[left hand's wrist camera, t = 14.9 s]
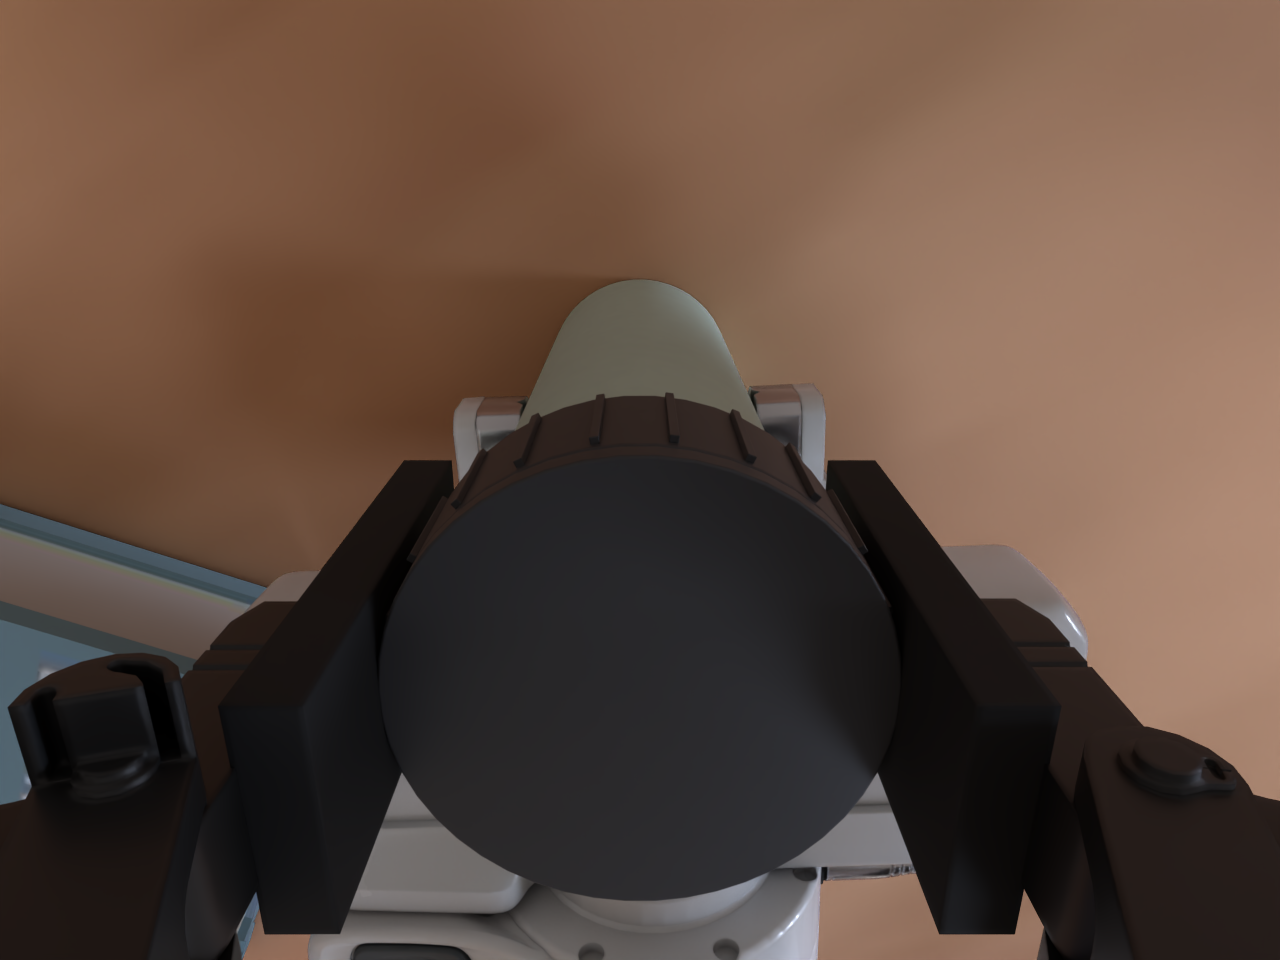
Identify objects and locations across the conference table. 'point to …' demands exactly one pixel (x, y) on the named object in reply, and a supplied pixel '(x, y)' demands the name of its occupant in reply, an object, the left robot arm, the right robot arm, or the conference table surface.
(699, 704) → the lid
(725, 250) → the conference table surface
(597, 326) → the jar
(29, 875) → the left robot arm
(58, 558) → the book
